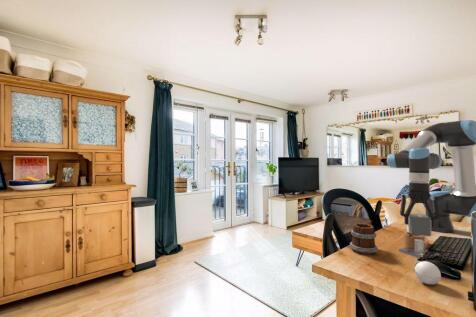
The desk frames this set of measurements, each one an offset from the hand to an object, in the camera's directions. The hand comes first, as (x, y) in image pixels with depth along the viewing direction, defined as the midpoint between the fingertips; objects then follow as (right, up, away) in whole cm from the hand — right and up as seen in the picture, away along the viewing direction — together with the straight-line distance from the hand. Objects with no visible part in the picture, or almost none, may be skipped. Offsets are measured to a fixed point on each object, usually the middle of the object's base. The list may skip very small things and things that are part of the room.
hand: (418, 232), depth 112 cm
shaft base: (0, -10, 0) cm, 10 cm away
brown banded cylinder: (-22, -10, +5) cm, 25 cm away
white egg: (-17, -10, -28) cm, 34 cm away
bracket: (+7, -10, +11) cm, 16 cm away
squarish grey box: (0, 0, 0) cm, 0 cm away
